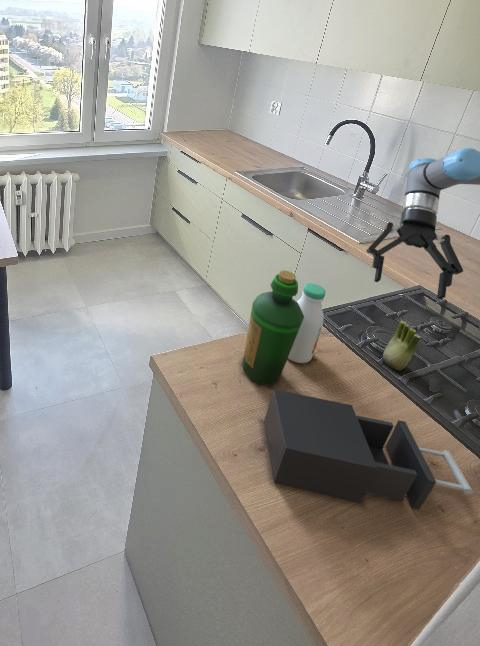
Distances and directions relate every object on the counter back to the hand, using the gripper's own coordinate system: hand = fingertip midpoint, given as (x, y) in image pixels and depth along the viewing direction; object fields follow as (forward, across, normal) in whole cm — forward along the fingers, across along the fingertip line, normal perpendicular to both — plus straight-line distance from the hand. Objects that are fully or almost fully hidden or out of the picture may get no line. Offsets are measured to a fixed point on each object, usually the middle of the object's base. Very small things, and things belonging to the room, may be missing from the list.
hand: (408, 289), depth 106 cm
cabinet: (+45, +18, +22) cm, 53 cm away
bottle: (+32, +29, +9) cm, 44 cm away
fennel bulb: (+19, 0, -4) cm, 19 cm away
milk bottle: (+25, +22, +1) cm, 33 cm away
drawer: (+42, +5, +20) cm, 47 cm away
